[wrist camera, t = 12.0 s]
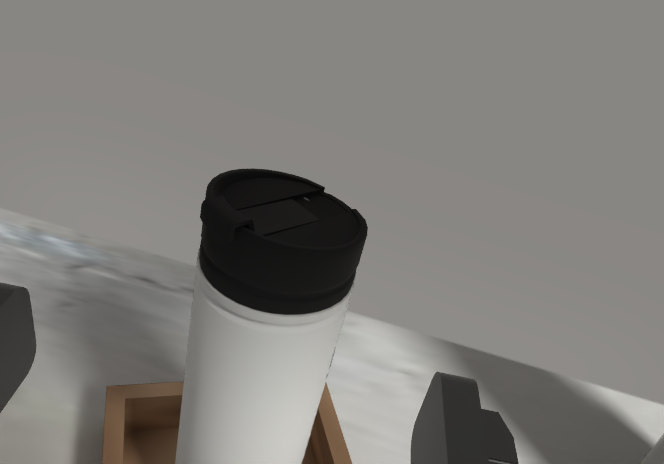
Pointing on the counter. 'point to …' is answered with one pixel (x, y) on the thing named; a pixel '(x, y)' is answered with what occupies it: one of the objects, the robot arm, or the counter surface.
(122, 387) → the walnut caddy
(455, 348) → the counter surface
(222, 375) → the travel mug
